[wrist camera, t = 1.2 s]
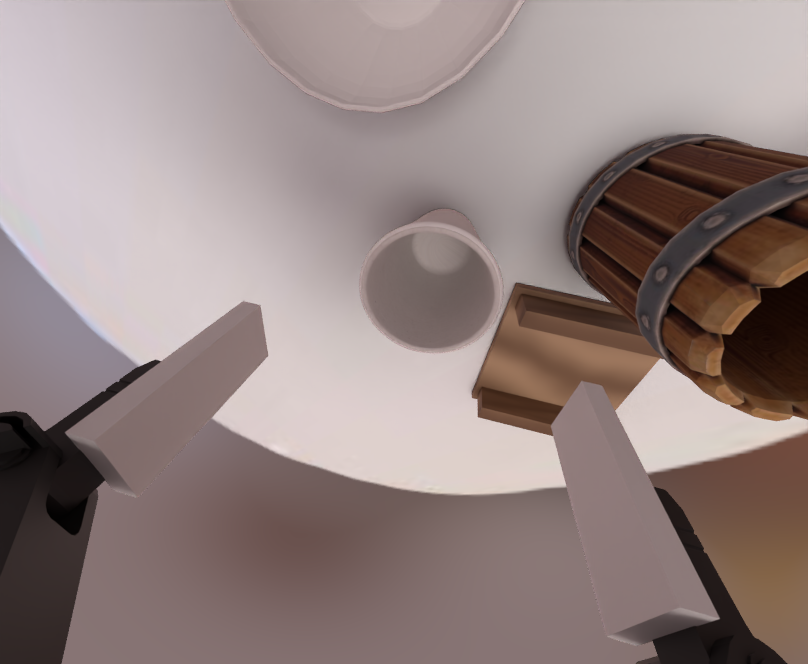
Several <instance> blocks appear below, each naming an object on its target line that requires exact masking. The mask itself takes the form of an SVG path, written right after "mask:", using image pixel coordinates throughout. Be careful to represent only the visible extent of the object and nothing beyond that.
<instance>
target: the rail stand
mask: <svg viewBox="0 0 808 664" xmlns="http://www.w3.org/2000/svg"><path fill="white" fill-rule="evenodd" d="M660 358H661V359H664V358H662V357H661V356H660V355H659V354H658V353H657V352H656V351H655V350H654V349H653V348H652V347H651V345H650V344H649V343H648V341H647V340H646V339H645V337H644V336H643V335H642V334H641V332H640V330H639V329H638V328H637V327H636V326H635V325H634V324H633V323H632V322H631V321H630V320H629V319H628V318H627V317H626V316H625V315H624V314H623V313H622V312H621V311H620V310H619V309H617V308H616V307H615V306H614V305H613V304H612V303H607V302H603V301H598V300H593V299H589V298H584V297H579V296H575V295H570V294H566V293H561V292H556V291H552V290H547V289H542V288H538V287H533V286H529V285H524V284H519V283H516V285H515V288H514V290H513V293H512V295H511V298H510V300H509V302H508V305H507V307H506V310H505V312H504V315H503V317H502V320H501V322H500V325H499V327H498V330H497V332H496V335H495V337H494V339H493V342H492V344H491V347H490V349H489V352H488V354H487V357H486V359H485V362H484V364H483V367H482V369H481V372H480V374H479V377H478V379H477V381H476V384H475V386H474V389H473V391H472V398H475V399H478V417H480V418H484V419H488V420H492V421H496V422H499V423H503V424H507V425H511V426H515V427H519V428H523V429H527V430H531V431H535V432H539V433H543V434H547V435H551V436H553V433H552V429H551V425H552V423H553V422H554V420H555V419H556V417H557V416H558V414H559V413H560V412H561V410H562V409H563V407H564V406H565V404H566V403H567V401H568V400H569V398H570V397H571V396H572V394H573V393H574V391H575V390H576V388H577V387H578V385H579V384H580V382H581V381H584V382H589V383H593V384H597V385H601V386H603V388H604V390H605V392H606V394H607V396H608V398H609V400H610V402H611V404H612V406H613V408H614V410H616V409H617V408H618V407H619V406H620V404H621V403H622V402H623V401H624V400H625V399H626V397H627V396H628V395H629V394H630V393H631V392H632V390H633V389H634V388H635V387H636V386H637V385H638V383H639V382H640V381H641V380H642V379H643V378H644V376H645V375H646V374H647V373H648V372H649V371H650V369H651V368H652V367H653V366H654V365H655V364H656V362H657V361H658V360H659V359H660Z"/></svg>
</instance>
